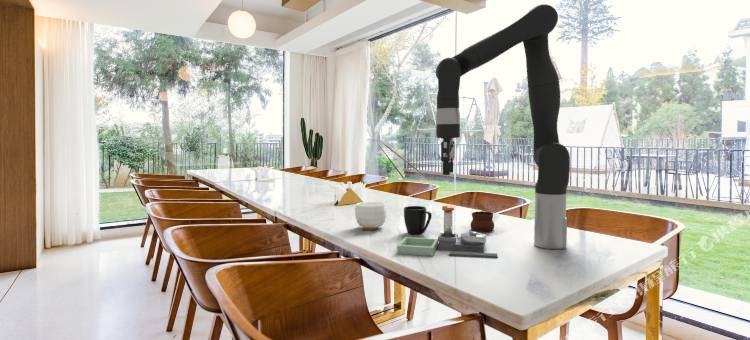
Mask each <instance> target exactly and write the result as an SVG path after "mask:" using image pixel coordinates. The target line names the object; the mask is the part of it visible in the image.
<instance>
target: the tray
mask: <svg viewBox="0 0 750 340" xmlns="http://www.w3.org/2000/svg"><path fill="white" fill-rule="evenodd" d="M438 243H439V242H438V238H429V237H428V238H425V237H413V236H412V237H411V236H409V237H408V236H405V237H404V238H403V239H402V240H401V241H400V242H399V243H398V244H397V246H396V247H397V248H396V253H398V255H409V254H410V255H413V256H424V257H425V255H430V256H429V257H433V256H434V255H435V254H436V252H435V251H437V250H438ZM399 253H400V254H399ZM410 255H409V256H410Z"/></svg>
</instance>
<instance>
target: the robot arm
mask: <svg viewBox="0 0 750 340" xmlns="http://www.w3.org/2000/svg"><path fill="white" fill-rule="evenodd" d="M558 21H559V15H558V12H557V10H556V9H555V8H554V6H552V5H550V4H544V3H543V4H539V5H536V6H534V7H532V8H531V9H530V10H529V11H528V12H527V13H526V14H524V15H523V16H522V17H520V18H519V19H517V20H516V21H514V22H513V23H511V24H509V25H508V26H506V27H505V28H503V29H500V30H499V31H497V32H494V33H493V34H491V35H489V36H487V37H485V38H483V39H481V40H479V41H477V42H475V43H473V44H471V45H469V46H467V47H466V48H465V49H463V50H462V51H461V52H460V53H457V54H455V56H452V57H446V58H443V59H442V60H441V61H440V62H439V64H438V65H436V69H435V76H436V79H437V81H438V82H437V85H438V88H437V90H438V91H437V94H436V113H435V137H436V138H437V139H443V140H442V141H441V143H440V155H441V156H440V161H441V163H442V175H443V176H449V175H451V174H452V173H453V172H454V161H455V158H456V157H455V155H456V154H455V153H456V152H455V148H456V144H455V140H454V139H458V138H460V137H461V115H460V114H461V112H460V94H459V93H460V83H461V77H463V76H464V75H466V74H467V73H468V72H470V71H473V70H475V69H477V68H479V67H481V66H483V65H485V64H487V63H489V62H490V61H493V60H494V59H495V58H497V57H499V56H501V55H502V54H504V53H505V52H507V51H508V50H510V49H513V47H515V46H517V45H519V44H521V43H523V49H524V55H525V63H526V66H525V67H526V75H527V76H526V78H527V91H528V100H529V101H528V102H529V107H530V109H529V110H530V115H531V122H532V127H533V161H534V163H535V165H536V166H537V167H538V168H537V169H538V170H537V180H536V183H535V186H534V231H533V232H534V237H533V240H534V242H533V243H534V246H536V247H538V248H542V249H547V250H549V249H550V250H560V249H567V243H568V241H567V240H568V239H567V237H568V235H567V234H568V233H567V232H568V218H567V190H568V189H567V188H568V186H569V182H570V170H571V169H570V168H571V157H570V152H569V150H568V148H567V147H566V146H565V145H564V144H561V143H560V139H559V133H558V132H559V131H558V121H559V120H558V119H559V113H560V107H561V87H560V78H559V74H558V73H557V70H556V68H555V65H554V63H553V61H552V59H551V56H550V48H549V47H550V46H549V34H550V33H552V31H554V29H555V28H556V26H557V25H558Z"/></svg>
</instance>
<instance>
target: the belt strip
mask: <svg viewBox="0 0 750 340" xmlns="http://www.w3.org/2000/svg"><path fill="white" fill-rule="evenodd" d="M448 251H449V252H448V254H449V255H448V256H449V257H467V256H468V257H471V258H475V257H476V258H489V259H490V258H491V259H494V258H495V259H497V258H498V253H494V252H492V253H491V252H484V253H482V252H467V251H451V250H448Z"/></svg>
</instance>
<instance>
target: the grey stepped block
mask: <svg viewBox="0 0 750 340" xmlns="http://www.w3.org/2000/svg"><path fill="white" fill-rule="evenodd" d="M437 239H438V248H437V250H438V249H439V250H440V251H441V250H442V251H451V252H474V253H485V248H486V243H487V234H484V233H483V232H476V231H472V230H471V231H469V232H463V233H460V236H459V234H458V233H453V237H444V232H440V233H439V235H438V236H437Z"/></svg>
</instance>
